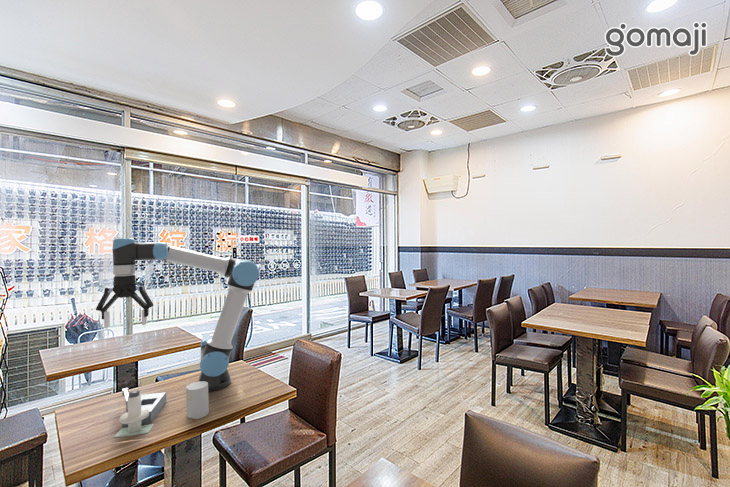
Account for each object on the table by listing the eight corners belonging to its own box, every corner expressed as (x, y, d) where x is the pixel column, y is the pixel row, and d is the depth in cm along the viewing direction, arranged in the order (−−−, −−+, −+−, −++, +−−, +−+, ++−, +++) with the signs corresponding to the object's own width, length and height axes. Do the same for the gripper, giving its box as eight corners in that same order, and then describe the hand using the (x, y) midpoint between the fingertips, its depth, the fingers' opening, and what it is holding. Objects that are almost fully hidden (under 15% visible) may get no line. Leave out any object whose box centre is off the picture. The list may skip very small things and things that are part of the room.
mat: (154, 425, 130) (154, 423, 130) (148, 434, 124) (148, 432, 124) (121, 429, 128) (121, 427, 128) (114, 439, 122) (114, 436, 122)
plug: (143, 434, 123) (143, 396, 123) (115, 438, 121) (114, 399, 120) (153, 421, 132) (152, 385, 132) (126, 425, 130) (125, 388, 129)
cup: (187, 411, 141) (187, 383, 141) (209, 407, 144) (208, 379, 144) (185, 421, 133) (185, 391, 133) (208, 416, 136) (207, 387, 136)
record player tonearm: (128, 396, 144) (127, 387, 144) (132, 411, 132) (132, 400, 132) (122, 398, 143) (122, 388, 143) (126, 412, 130) (126, 402, 130)
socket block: (166, 403, 148) (166, 392, 148) (151, 424, 131) (151, 411, 131) (140, 406, 146) (140, 394, 146) (122, 428, 129) (121, 415, 129)
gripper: (161, 273, 146) (162, 321, 147) (94, 275, 141) (96, 325, 141) (154, 274, 139) (155, 325, 139) (84, 277, 133) (85, 330, 133)
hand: (125, 325), depth 140 cm, fingers open, 13 cm apart
